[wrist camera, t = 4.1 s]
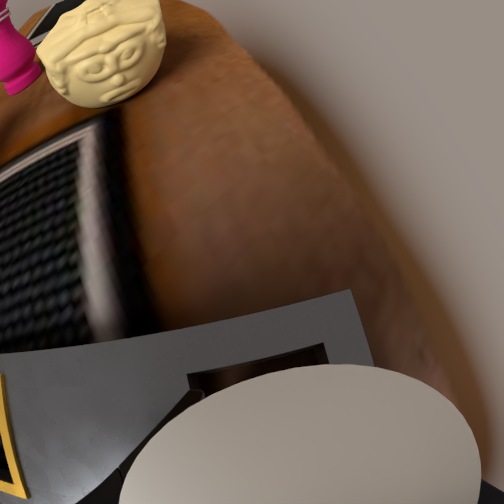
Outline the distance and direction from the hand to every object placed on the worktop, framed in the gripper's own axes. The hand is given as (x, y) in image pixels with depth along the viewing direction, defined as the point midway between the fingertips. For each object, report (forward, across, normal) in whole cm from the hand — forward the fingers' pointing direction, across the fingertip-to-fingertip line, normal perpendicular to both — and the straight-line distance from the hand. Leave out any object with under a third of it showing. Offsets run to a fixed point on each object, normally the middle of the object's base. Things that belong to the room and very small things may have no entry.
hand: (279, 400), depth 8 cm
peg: (+4, 0, +6) cm, 7 cm away
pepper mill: (+30, +35, -20) cm, 50 cm away
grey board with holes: (+2, +9, +7) cm, 12 cm away
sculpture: (+23, +14, -14) cm, 31 cm away
